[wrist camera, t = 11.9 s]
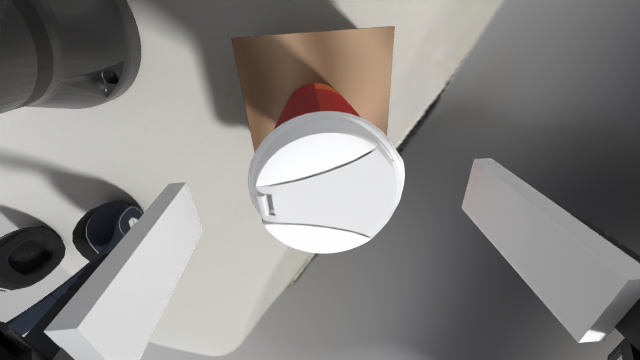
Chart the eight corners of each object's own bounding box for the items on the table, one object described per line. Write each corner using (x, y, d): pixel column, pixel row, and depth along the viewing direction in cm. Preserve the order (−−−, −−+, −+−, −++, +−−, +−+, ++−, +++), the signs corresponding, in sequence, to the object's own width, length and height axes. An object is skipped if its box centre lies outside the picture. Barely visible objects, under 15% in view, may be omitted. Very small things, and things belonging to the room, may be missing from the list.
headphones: (48, 258, 40) (-115, 406, 25) (9, 225, 37) (-210, 372, 21) (165, 224, 38) (69, 363, 23) (135, 186, 35) (-3, 318, 19)
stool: (268, 151, 33) (260, 179, 27) (247, 35, 27) (231, 38, 21) (369, 144, 34) (384, 169, 28) (374, 26, 27) (394, 26, 21)
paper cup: (279, 155, 26) (259, 266, 14) (267, 72, 22) (224, 128, 10) (358, 149, 26) (404, 254, 14) (359, 66, 22) (425, 113, 10)
